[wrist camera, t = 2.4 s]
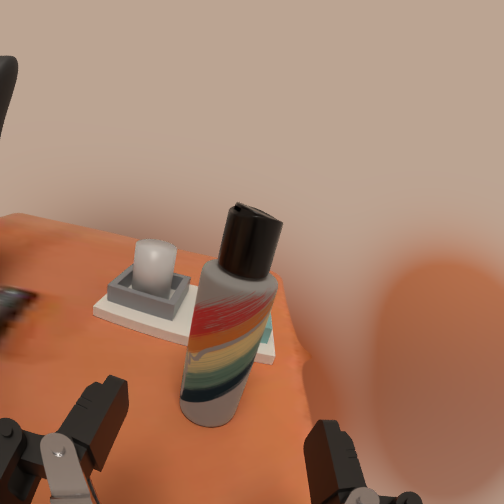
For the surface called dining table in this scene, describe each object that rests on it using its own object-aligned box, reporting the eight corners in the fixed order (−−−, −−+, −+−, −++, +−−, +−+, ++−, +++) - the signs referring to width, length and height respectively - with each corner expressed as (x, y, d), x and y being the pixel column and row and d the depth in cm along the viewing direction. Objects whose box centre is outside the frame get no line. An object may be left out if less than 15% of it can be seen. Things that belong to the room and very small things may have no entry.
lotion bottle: (174, 387, 25) (209, 192, 20) (225, 386, 27) (277, 206, 22) (184, 430, 20) (230, 207, 15) (242, 425, 22) (314, 225, 17)
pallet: (93, 315, 32) (94, 250, 29) (133, 276, 46) (139, 226, 44) (271, 364, 33) (295, 302, 31) (267, 311, 48) (282, 261, 45)
